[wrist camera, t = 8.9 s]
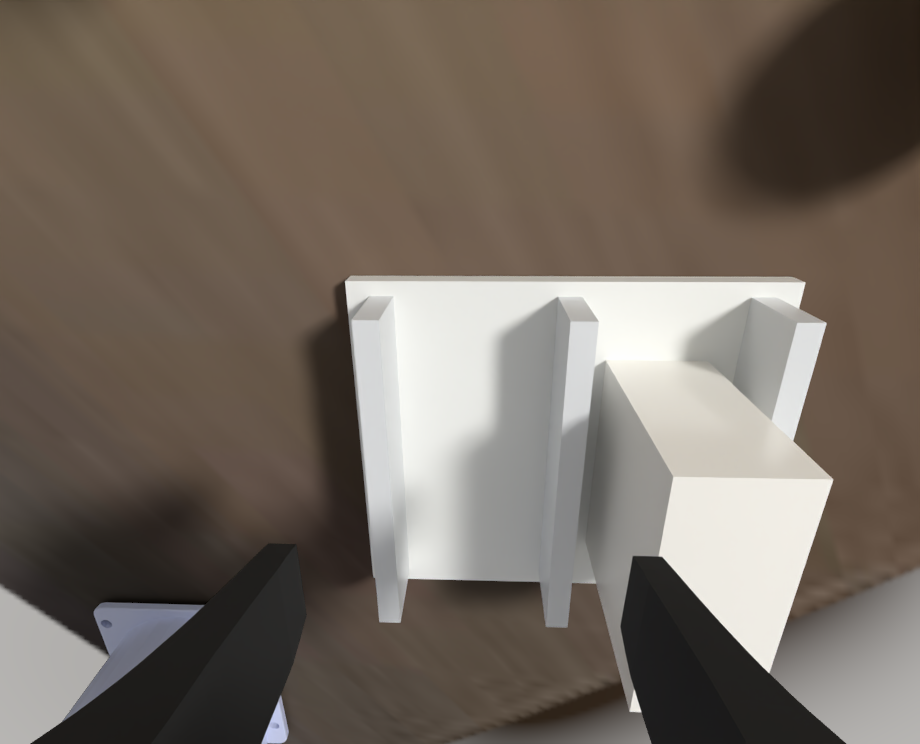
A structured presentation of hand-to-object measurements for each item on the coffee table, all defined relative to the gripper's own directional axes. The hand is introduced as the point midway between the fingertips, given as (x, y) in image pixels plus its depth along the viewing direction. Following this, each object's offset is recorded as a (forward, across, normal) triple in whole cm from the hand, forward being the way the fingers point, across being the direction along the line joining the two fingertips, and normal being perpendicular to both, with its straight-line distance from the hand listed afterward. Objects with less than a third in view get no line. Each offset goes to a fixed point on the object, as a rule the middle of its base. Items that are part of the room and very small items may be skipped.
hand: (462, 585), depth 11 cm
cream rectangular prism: (+8, -6, +2) cm, 11 cm away
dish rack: (+9, -3, +2) cm, 10 cm away
